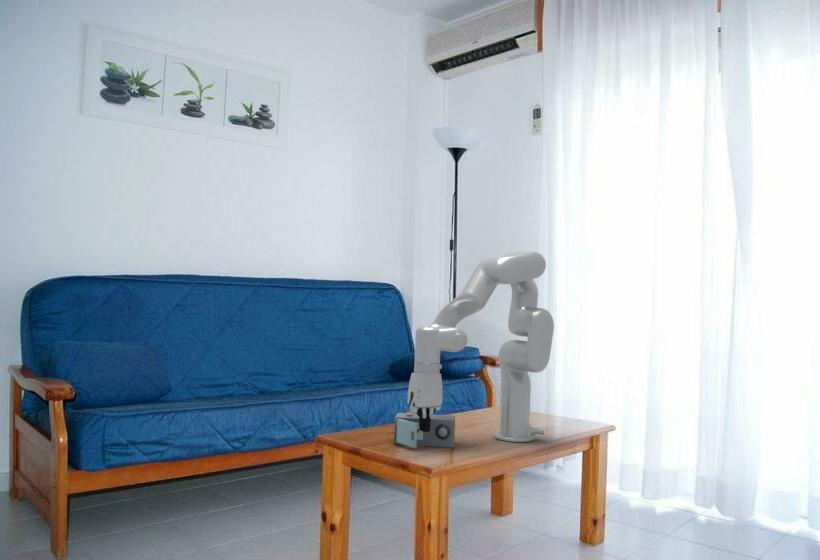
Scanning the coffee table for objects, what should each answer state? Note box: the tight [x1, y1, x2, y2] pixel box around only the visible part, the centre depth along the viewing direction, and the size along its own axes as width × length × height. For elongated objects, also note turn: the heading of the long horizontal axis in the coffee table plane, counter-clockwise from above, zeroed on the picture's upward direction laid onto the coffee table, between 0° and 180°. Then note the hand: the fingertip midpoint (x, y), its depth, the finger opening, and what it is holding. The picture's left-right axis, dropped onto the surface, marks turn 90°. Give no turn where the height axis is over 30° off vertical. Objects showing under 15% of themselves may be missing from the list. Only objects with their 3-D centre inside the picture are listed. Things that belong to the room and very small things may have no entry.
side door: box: [396, 419, 417, 448], centre depth 189 cm, size 8×2×7 cm, turn 40°
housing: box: [393, 412, 456, 448], centre depth 196 cm, size 18×9×9 cm, turn 85°
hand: (424, 430), depth 190 cm, fingers closed
